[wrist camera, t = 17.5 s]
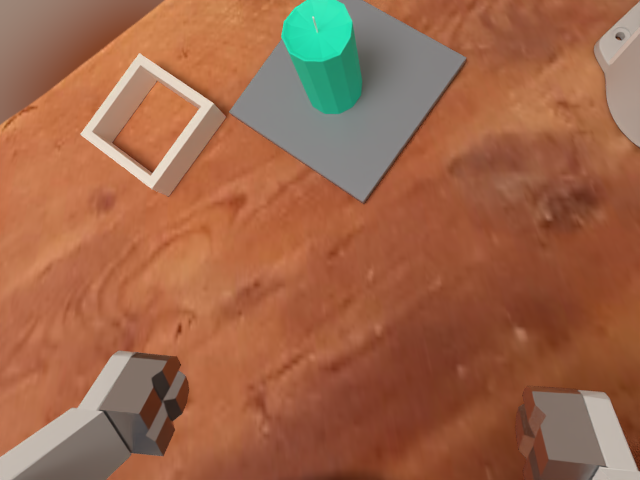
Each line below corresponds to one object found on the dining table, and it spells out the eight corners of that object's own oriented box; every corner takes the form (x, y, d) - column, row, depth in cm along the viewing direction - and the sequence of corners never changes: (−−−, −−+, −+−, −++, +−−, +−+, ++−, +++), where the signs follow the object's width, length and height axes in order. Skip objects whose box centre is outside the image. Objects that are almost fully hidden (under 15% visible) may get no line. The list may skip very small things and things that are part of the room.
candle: (311, 120, 47) (282, 60, 36) (302, 69, 48) (271, -6, 37) (367, 107, 46) (357, 41, 35) (356, 54, 47) (343, -27, 36)
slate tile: (326, -15, 50) (324, -21, 49) (464, 62, 46) (466, 57, 45) (232, 115, 50) (229, 111, 49) (363, 204, 46) (362, 201, 45)
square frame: (156, 69, 53) (139, 53, 49) (226, 117, 50) (213, 103, 47) (101, 145, 52) (80, 134, 49) (168, 196, 50) (151, 188, 47)
